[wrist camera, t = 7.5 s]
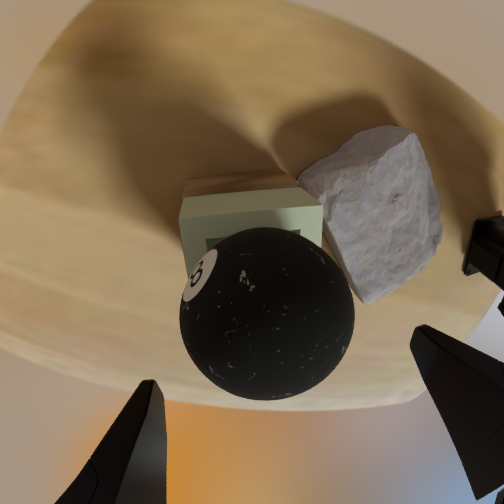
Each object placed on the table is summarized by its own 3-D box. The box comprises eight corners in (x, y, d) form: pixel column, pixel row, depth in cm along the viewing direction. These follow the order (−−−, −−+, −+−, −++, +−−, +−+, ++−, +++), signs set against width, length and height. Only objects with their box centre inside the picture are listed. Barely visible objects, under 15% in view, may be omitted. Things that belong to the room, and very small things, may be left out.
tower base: (279, 168, 18) (298, 181, 15) (283, 251, 21) (300, 280, 17) (186, 179, 18) (181, 196, 14) (200, 263, 20) (200, 295, 17)
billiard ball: (261, 341, 15) (287, 440, 9) (160, 287, 12) (140, 397, 7) (342, 257, 13) (413, 341, 8) (243, 178, 11) (282, 238, 6)
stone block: (375, 111, 19) (278, 180, 18) (422, 111, 15) (317, 193, 14) (415, 226, 25) (344, 295, 24) (453, 242, 20) (378, 323, 20)
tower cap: (300, 187, 15) (323, 205, 12) (298, 284, 17) (315, 317, 15) (183, 197, 14) (178, 218, 11) (199, 296, 17) (199, 333, 14)
